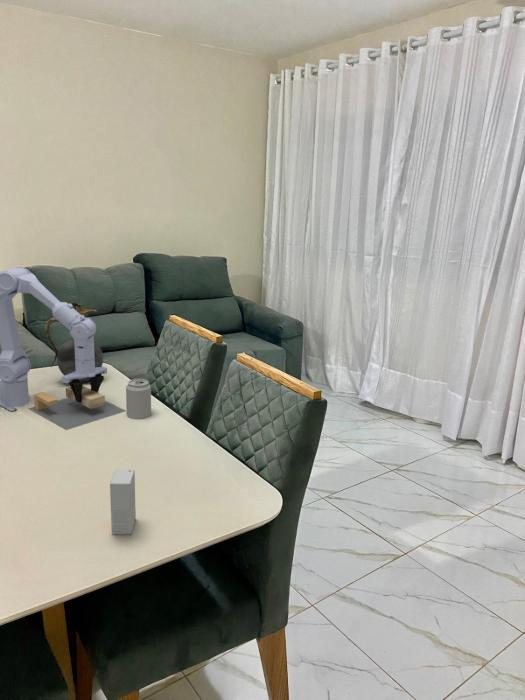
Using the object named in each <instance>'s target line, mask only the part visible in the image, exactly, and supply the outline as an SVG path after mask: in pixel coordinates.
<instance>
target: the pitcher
mask: <svg viewBox="0 0 525 700" xmlns="http://www.w3.org/2000/svg"><path fill="white" fill-rule="evenodd" d="M69 304H72V305H73V307H72V308H74V309H75V310H76V311H77V312H78V313H79V314H81V315H83V316H85V318H88V317H89V315H90V314H91V313H93V312H95V313H97V312H98V310H96V309H94V308H91V307H87V306H86V307H82V306H81V304H80V303H77V302H69ZM57 322H58V323H60V322H59V321H58V320H57V319H56V318H55V317H54V316H53V317H51V318H49V319H48V320H47V321H46V323H45V326H44V332H45V336H46V339H47V340H48V342H49V343H50V346H51V347H52V349H53V350H54V354H55V355H54V359H53V360H52V363H51V365H50V367H52V366H54V364H55V362H56V361H57V367H58V369H59V371H60V373H61V374H62V376H65V375H68V374H70V373H72V372H75V371H76V367H75V345H74V339H73V338H72V337H71V338H69V339H67V340H66V341H64V342H62V344H61V346H60V347H59V349H58V351H57V347H56V346H55V344H54V343H53V341H52V338H51V335H50V331H49V328H50V325H51V324H53V323H57ZM94 357H95V368H97V367H103V364H104V353H103V351H102V348H101V346H100V345H99V344H98V342H96V341H95V340H94ZM79 381H80V382H81V383H83V385H84V384H88V383H90V380H89V377H87V378H83V379H79Z"/></svg>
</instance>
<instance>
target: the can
mask: <svg viewBox="0 0 525 700" xmlns="http://www.w3.org/2000/svg"><path fill="white" fill-rule="evenodd" d="M125 396H126V398H125V399H126V400H125V402H126V404H125V405H126V416H127V418H129V419H131V420H145V419H148V418H150V417H151V416H152V386H151V384H150V381H149V380H148V379H144V378H134V379H130V380H129V381H128V382H127V385H126V386H125Z"/></svg>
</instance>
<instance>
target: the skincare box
mask: <svg viewBox="0 0 525 700" xmlns="http://www.w3.org/2000/svg"><path fill="white" fill-rule="evenodd" d="M135 470H136V469H134V468H133V469H127V468H125V469H121V468H120V469H114V471H113V474H112V477H111V480H110V482H109V483H110V484H109V495H110V497H109V498H110V520H111V521H110V522H111V524H110V525H111V535H132V534H133V531H134V526H135V522H136V517H137V515H136V511H137V510H136V485H135V484H136V472H135Z"/></svg>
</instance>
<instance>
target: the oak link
mask: <svg viewBox="0 0 525 700" xmlns="http://www.w3.org/2000/svg"><path fill="white" fill-rule="evenodd" d="M65 397H66V398H70V399H72V400H74V401H76V399H75V396H74V393H73V391H72V389H71V387H70V386H68V387H65ZM105 401H106V396H105V394H102V393H100V392H99V391H98V392H95V391H93V390H91V388H89V387H86V386H84V385H83V386H82V401H81V402H80V404H82V405H84V406H86V407H88V408H90V409H92V408H96V407H99V406H102V405H105ZM76 402H77V401H76ZM78 403H79V402H78Z"/></svg>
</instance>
